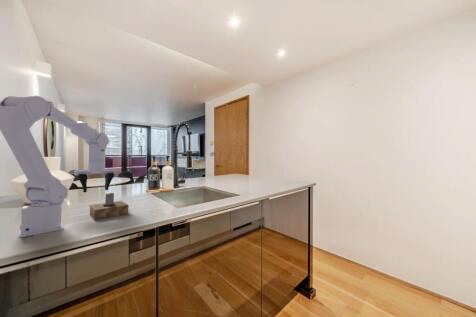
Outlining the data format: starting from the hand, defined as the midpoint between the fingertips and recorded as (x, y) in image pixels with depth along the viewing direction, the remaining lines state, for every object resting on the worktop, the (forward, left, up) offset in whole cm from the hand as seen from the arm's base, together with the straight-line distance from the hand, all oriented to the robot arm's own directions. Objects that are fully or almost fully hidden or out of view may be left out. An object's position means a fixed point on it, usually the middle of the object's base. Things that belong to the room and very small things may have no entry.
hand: (96, 190), depth 80 cm
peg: (+4, -5, -10) cm, 12 cm away
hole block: (+4, -5, -10) cm, 12 cm away
